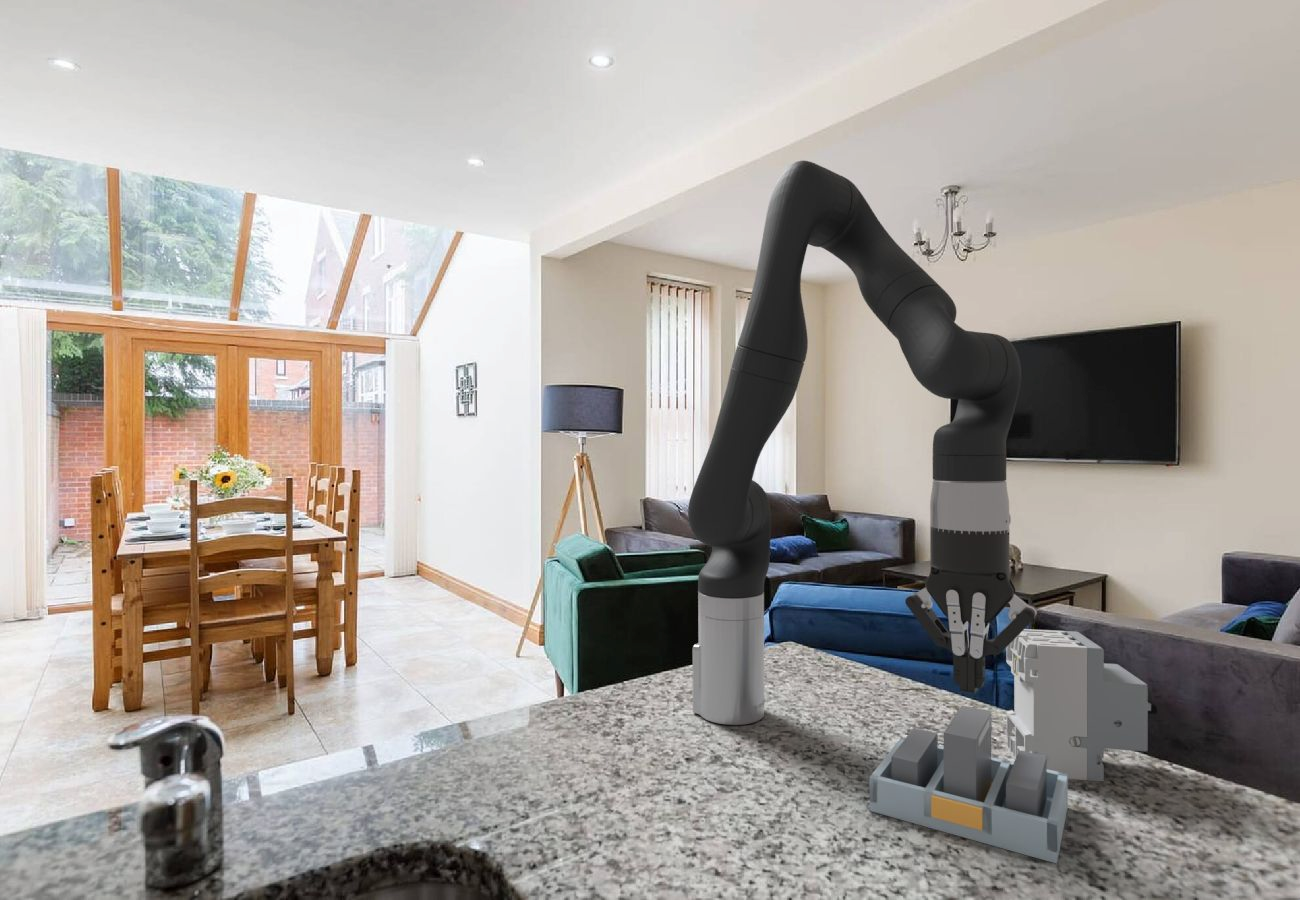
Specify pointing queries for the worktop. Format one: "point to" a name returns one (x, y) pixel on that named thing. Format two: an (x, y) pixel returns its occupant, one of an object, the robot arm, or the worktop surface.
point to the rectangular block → (968, 754)
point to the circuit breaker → (1073, 703)
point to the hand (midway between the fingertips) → (969, 690)
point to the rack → (1010, 818)
